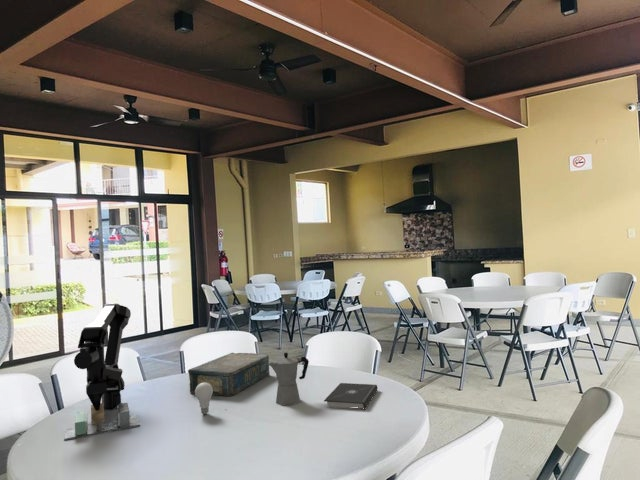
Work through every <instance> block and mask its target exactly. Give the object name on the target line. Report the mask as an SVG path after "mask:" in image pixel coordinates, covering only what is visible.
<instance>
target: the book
mask: <svg viewBox="0 0 640 480" xmlns="http://www.w3.org/2000/svg"><path fill="white" fill-rule="evenodd" d="M377 389H378V385H377V384H369V383H365V384H364V383H351V382H350V383H347V382H340V383H339V384H338V385H337V386H336V387H335V388H334V389H333V390H332V391H331V393H330V394H328V396H327V397H326V398H325V399H324V400H323V402H326V403H327V404H326V406H331V407H330V408H336V407H358V408H364V409H365V408H366V407H367V408H368V406H369V405H370V403H371V402H372V400H373V399H372V397H373V396H374V394H375V393H376V391H377V392H378V390H377ZM376 394H377V393H376ZM376 394H375V395H376ZM374 397H375V396H374ZM374 397H373V398H374ZM371 399H372V400H371ZM370 401H371V402H370ZM369 402H370V403H369ZM368 404H369V405H368ZM367 405H368V406H367ZM367 408H366V409H367ZM364 409H363V410H364ZM366 409H365V410H366Z"/></svg>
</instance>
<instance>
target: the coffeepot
mask: <svg viewBox="0 0 640 480" xmlns="http://www.w3.org/2000/svg"><path fill="white" fill-rule="evenodd" d="M283 356H284V357H282V358H278V359H275V360H274V361H272V362H269V367H271V369H272V370H273V372H274V373H275V376H276V381H277V391H276V397H275V398H276V399H275V403H276V404H277V405H280V406H293V405H296V404H298V403H299V402H300V401H301V400H300V399H301V398H300V393H299V388H298V383H297V375H298V364H299V363H303V369H302V372H301V376H298V379H299V380H304V379H305V378H306V373H307V370H308V367H309V363H310V361H309V359H308V358H307V357H306V356H298V357H289V352H284V353H283Z"/></svg>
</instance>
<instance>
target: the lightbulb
mask: <svg viewBox="0 0 640 480" xmlns="http://www.w3.org/2000/svg"><path fill="white" fill-rule="evenodd" d="M194 394H195V397H196V399H197V401H198V402H199V408H200V413H201V414H203V415H207V414H209V410H210V409H209V406H210V401H211V398H212V396H213V395H212V394H213V388H212V386H211V385H210V384H209V383H206V382H204V383H200V384H199V385H198V386H197V387H196V389H195V393H194Z"/></svg>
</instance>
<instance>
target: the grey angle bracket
mask: <svg viewBox="0 0 640 480" xmlns="http://www.w3.org/2000/svg"><path fill="white" fill-rule="evenodd" d="M121 403H122V404H118V406H117V408H116V415H117V417H116V418H115V419H109V420H104V421H98V422H93V423H88V426H87V432H86V434H81V435H76V436H75V426H72V427H66V428H65V434H64V441H68V440H69V441H70V440H74V439H81V438H85V437H92V436H96V435H101V434H105V433H111V432H116V431H122V430H126V429H133V428H137V427H140V421H139V417H138V415H137V414H136V415H132V416H130V409H129V404H128V402H121Z"/></svg>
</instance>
